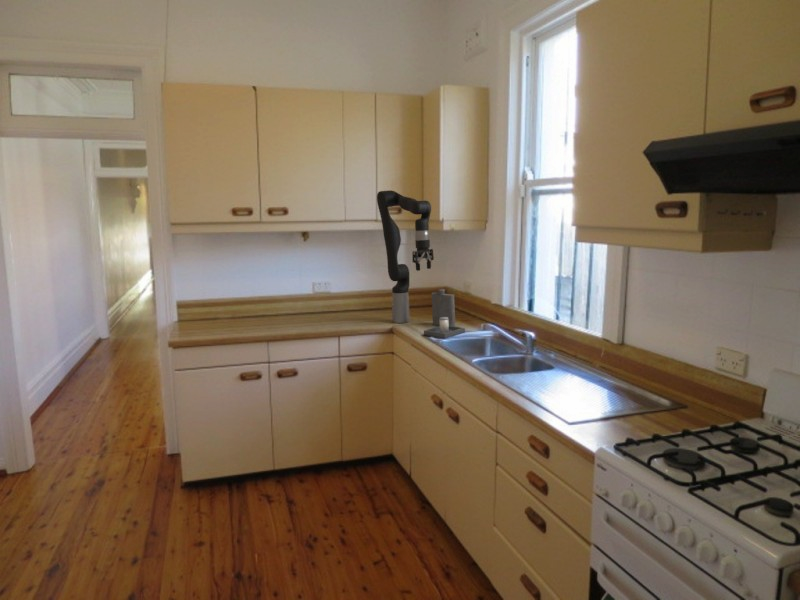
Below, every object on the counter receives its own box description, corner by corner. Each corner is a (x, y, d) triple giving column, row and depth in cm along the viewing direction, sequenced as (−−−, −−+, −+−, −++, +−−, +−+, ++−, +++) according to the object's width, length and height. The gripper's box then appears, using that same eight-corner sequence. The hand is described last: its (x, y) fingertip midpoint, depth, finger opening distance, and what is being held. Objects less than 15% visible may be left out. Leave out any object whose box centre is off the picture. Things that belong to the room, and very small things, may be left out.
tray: (423, 335, 292) (423, 330, 292) (443, 329, 303) (443, 324, 303) (445, 338, 282) (444, 333, 282) (464, 332, 294) (464, 327, 293)
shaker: (438, 333, 293) (437, 317, 292) (443, 331, 296) (443, 316, 295) (445, 334, 290) (444, 318, 288) (450, 332, 293) (450, 317, 292)
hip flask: (456, 326, 309) (455, 290, 306) (451, 327, 307) (450, 291, 303) (435, 323, 321) (434, 287, 318) (430, 324, 319) (429, 288, 315)
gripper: (426, 238, 308) (427, 267, 311) (408, 240, 298) (409, 270, 301) (436, 238, 303) (437, 268, 305) (418, 240, 293) (419, 271, 295)
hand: (423, 269), depth 303 cm, fingers open, 8 cm apart
